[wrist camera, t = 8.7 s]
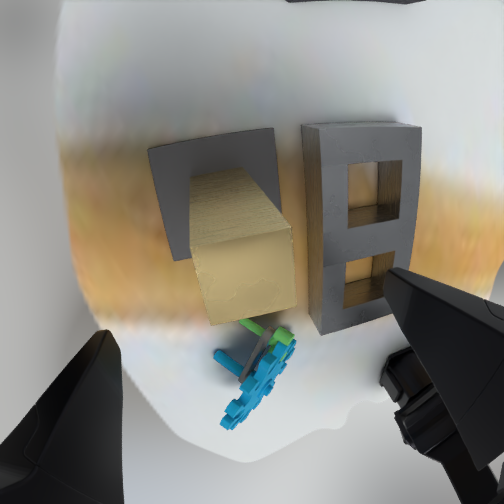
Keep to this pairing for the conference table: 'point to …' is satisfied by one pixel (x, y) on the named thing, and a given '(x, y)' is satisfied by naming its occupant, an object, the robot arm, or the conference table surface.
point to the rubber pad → (207, 161)
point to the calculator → (390, 0)
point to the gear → (267, 371)
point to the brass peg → (239, 247)
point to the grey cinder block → (357, 216)
